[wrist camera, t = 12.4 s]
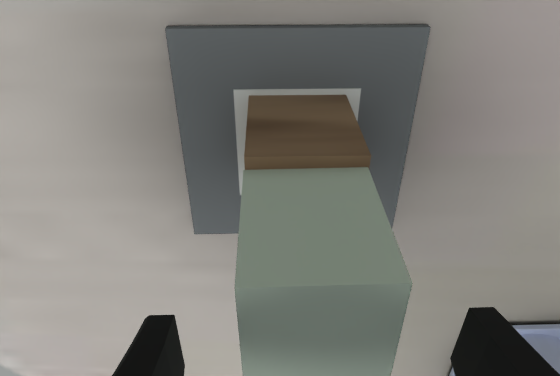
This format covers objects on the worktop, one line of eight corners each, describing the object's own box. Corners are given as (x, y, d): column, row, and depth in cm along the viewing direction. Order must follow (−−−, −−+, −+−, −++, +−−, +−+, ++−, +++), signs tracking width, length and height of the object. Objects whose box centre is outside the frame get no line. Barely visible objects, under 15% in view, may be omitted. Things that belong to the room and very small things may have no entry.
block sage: (356, 258, 16) (388, 384, 12) (249, 261, 16) (244, 389, 12) (368, 167, 14) (412, 283, 10) (243, 169, 14) (234, 288, 10)
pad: (389, 225, 22) (391, 231, 22) (195, 229, 22) (194, 234, 22) (427, 24, 17) (430, 27, 16) (167, 26, 16) (164, 28, 16)
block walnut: (338, 176, 20) (357, 250, 16) (251, 177, 20) (249, 252, 16) (346, 94, 18) (371, 155, 14) (248, 95, 18) (244, 157, 14)
